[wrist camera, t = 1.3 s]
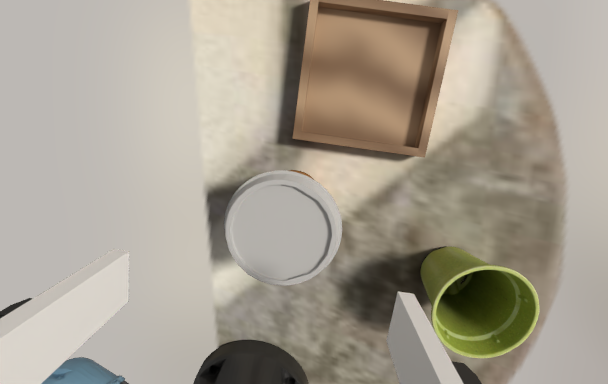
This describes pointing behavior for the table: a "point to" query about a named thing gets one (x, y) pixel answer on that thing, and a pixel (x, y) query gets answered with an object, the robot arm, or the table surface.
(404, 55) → the tray
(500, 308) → the plant pot
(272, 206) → the disposable coffee cup
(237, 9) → the table surface
